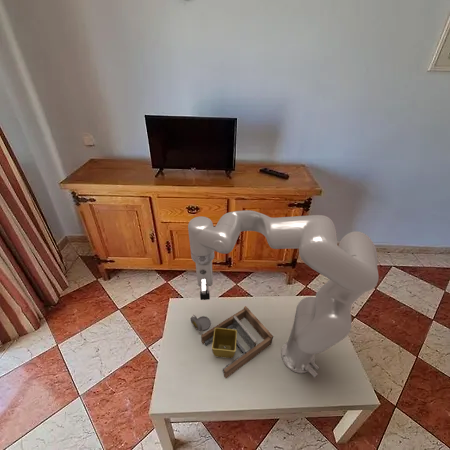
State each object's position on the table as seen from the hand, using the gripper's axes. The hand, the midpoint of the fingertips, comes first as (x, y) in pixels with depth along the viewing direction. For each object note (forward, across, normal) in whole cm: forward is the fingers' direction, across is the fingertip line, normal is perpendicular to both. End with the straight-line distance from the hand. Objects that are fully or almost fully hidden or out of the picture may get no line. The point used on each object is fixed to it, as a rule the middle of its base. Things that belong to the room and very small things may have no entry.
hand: (205, 287), depth 93 cm
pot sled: (+27, -8, -8) cm, 29 cm away
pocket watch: (+27, +2, +3) cm, 28 cm away
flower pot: (+28, -9, -6) cm, 30 cm away
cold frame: (+27, -6, -11) cm, 30 cm away
